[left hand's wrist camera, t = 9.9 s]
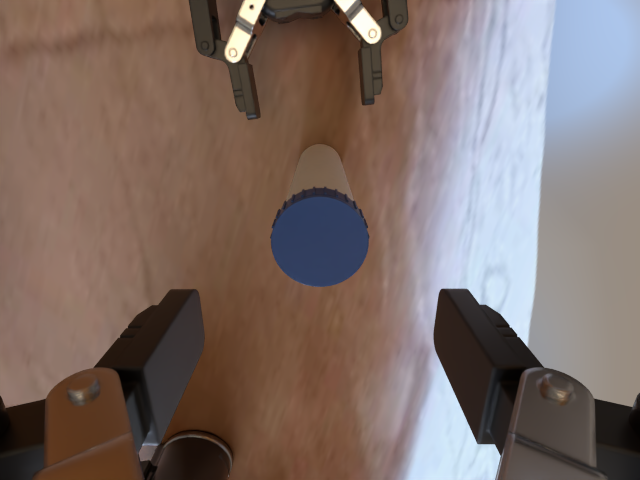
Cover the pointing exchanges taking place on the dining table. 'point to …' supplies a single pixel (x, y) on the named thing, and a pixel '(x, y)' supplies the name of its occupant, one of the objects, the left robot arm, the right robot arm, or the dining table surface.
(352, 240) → the lid
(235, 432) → the dining table surface
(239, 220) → the dining table surface
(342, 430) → the dining table surface
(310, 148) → the white tube
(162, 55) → the dining table surface
